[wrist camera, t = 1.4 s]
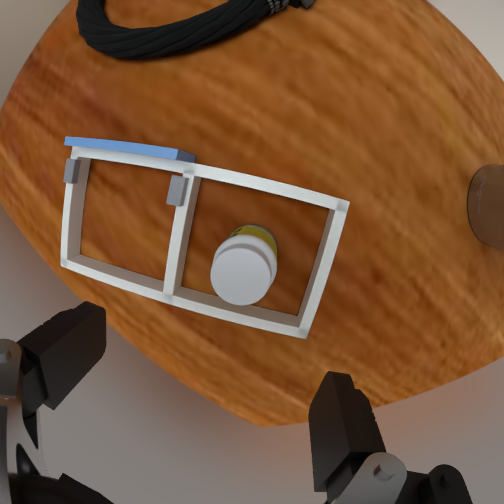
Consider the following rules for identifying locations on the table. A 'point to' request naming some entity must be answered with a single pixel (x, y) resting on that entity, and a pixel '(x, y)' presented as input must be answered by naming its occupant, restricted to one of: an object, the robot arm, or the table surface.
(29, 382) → the robot arm
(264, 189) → the two-slot divided caddy
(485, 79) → the table surface
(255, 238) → the supplement bottle
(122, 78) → the table surface
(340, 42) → the table surface
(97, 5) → the cable lock
